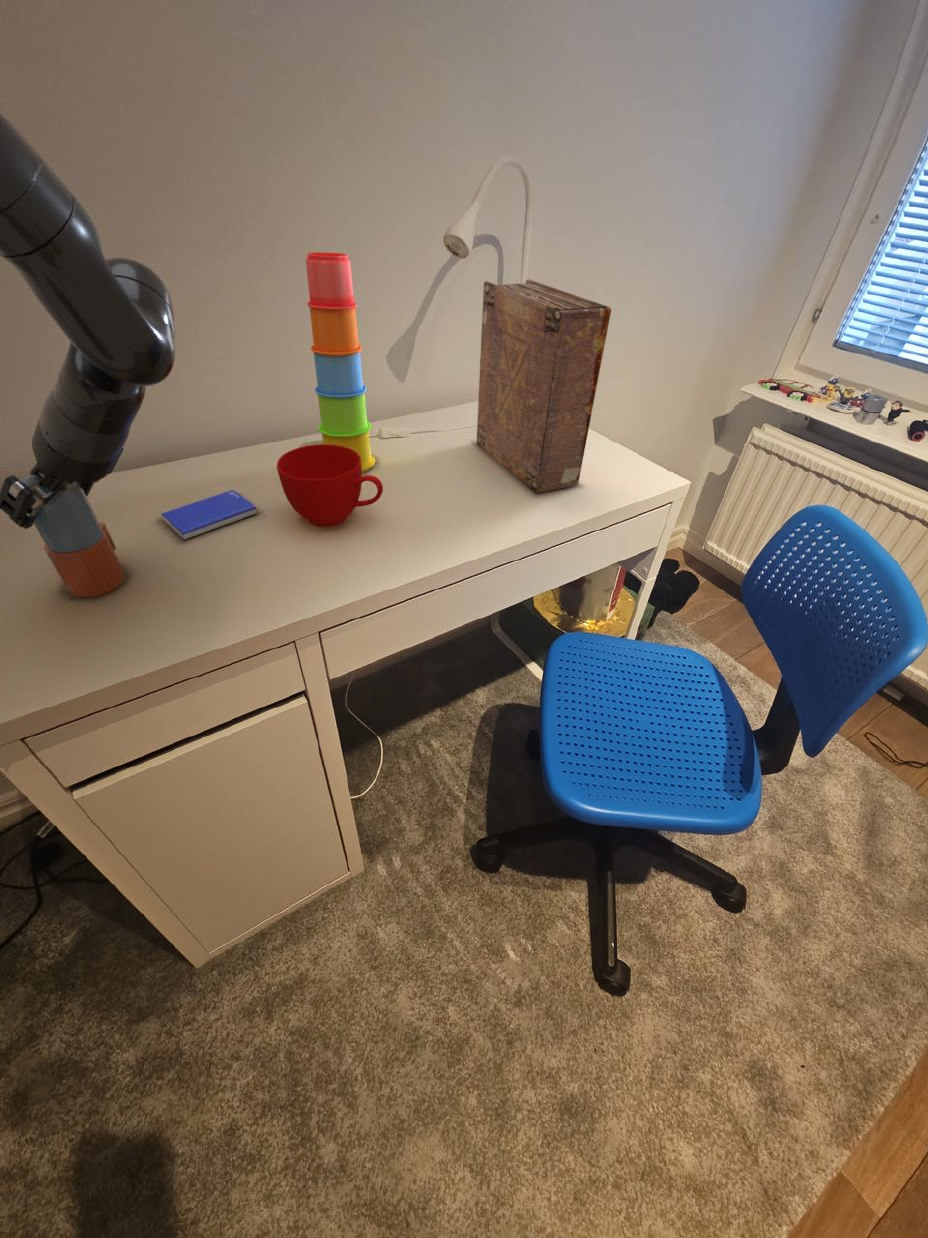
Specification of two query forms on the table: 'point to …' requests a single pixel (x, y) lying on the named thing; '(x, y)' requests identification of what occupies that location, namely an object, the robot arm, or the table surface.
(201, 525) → the hard drive
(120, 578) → the mug
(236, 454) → the table surface
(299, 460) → the ceramic cup
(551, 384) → the book
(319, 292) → the stacking cups
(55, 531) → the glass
